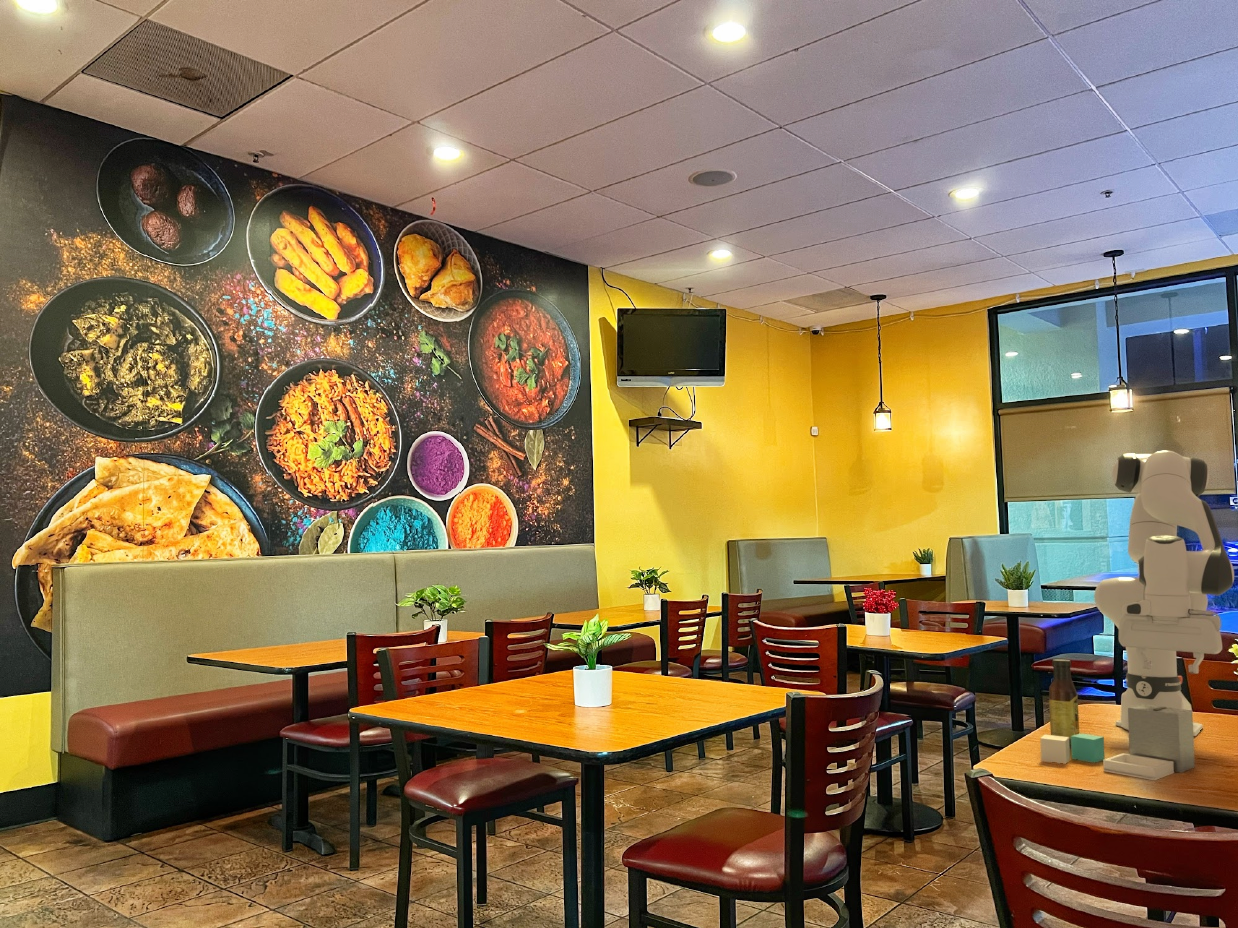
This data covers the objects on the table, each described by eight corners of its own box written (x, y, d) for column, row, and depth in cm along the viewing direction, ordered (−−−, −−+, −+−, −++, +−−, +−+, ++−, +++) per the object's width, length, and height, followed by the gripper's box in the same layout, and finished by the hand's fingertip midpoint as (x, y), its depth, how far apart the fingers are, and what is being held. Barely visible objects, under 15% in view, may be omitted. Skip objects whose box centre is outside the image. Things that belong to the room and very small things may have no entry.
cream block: (1045, 757, 210) (1044, 734, 211) (1069, 760, 207) (1069, 737, 208) (1041, 761, 206) (1040, 738, 206) (1065, 764, 203) (1065, 740, 204)
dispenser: (1145, 758, 209) (1143, 702, 210) (1195, 766, 201) (1192, 709, 202) (1130, 764, 203) (1127, 706, 204) (1180, 772, 196) (1178, 713, 197)
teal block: (1081, 755, 212) (1080, 733, 212) (1104, 759, 208) (1103, 736, 208) (1071, 758, 208) (1070, 736, 209) (1094, 763, 205) (1093, 739, 205)
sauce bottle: (1083, 748, 219) (1080, 662, 221) (1054, 746, 220) (1051, 661, 222) (1075, 742, 225) (1072, 658, 227) (1047, 741, 227) (1045, 657, 228)
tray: (1123, 763, 204) (1122, 753, 204) (1173, 772, 196) (1173, 761, 196) (1103, 770, 197) (1103, 759, 197) (1155, 780, 190) (1154, 768, 190)
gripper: (1225, 610, 204) (1228, 674, 202) (1125, 605, 219) (1128, 665, 218) (1215, 611, 200) (1218, 677, 198) (1114, 606, 215) (1116, 667, 214)
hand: (1170, 670), depth 208 cm, fingers open, 8 cm apart
